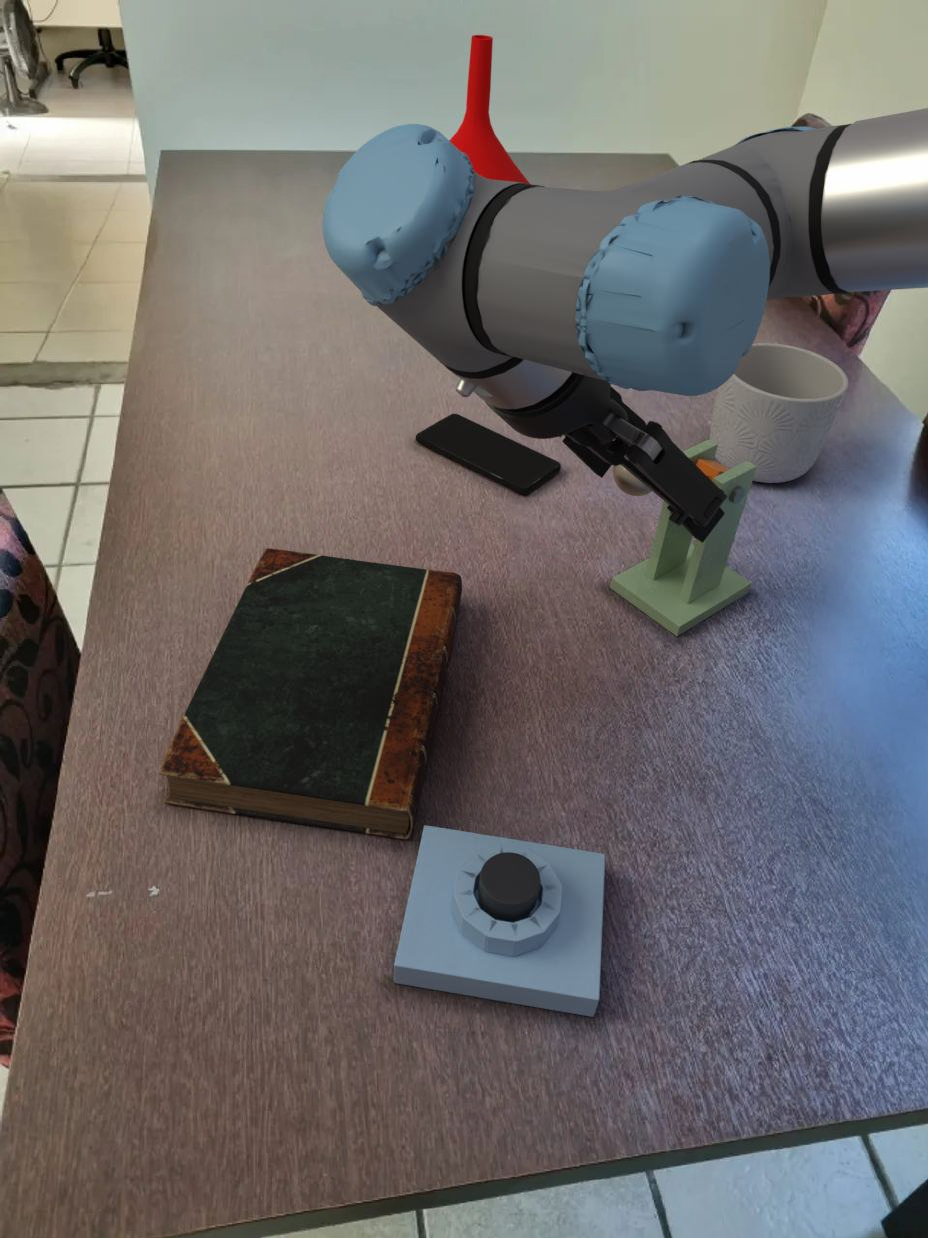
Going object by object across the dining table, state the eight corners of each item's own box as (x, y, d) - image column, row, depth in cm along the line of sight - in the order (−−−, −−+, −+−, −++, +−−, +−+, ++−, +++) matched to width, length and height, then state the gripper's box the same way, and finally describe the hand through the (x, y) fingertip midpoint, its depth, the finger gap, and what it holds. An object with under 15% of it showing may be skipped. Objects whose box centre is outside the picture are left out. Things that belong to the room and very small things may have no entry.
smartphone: (524, 491, 94) (412, 435, 100) (523, 498, 94) (412, 441, 101) (564, 463, 98) (454, 411, 104) (563, 470, 98) (453, 417, 105)
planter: (826, 499, 98) (862, 405, 90) (707, 489, 98) (734, 394, 90) (802, 437, 107) (833, 347, 99) (693, 427, 107) (716, 337, 100)
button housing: (600, 872, 63) (610, 837, 60) (593, 1018, 55) (604, 985, 52) (423, 843, 63) (425, 807, 61) (393, 983, 56) (393, 949, 53)
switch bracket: (676, 636, 80) (715, 504, 71) (609, 587, 85) (637, 456, 76) (748, 592, 85) (793, 463, 76) (681, 548, 90) (716, 421, 81)
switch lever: (631, 503, 67) (654, 458, 66) (596, 480, 69) (617, 436, 68) (725, 509, 78) (746, 470, 76) (692, 489, 80) (712, 450, 78)
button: (539, 873, 58) (543, 856, 57) (534, 925, 55) (537, 909, 54) (482, 863, 58) (484, 847, 57) (474, 915, 56) (476, 899, 55)
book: (267, 577, 83) (162, 804, 64) (264, 545, 81) (154, 771, 62) (462, 604, 82) (412, 842, 63) (464, 572, 80) (413, 809, 61)
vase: (418, 306, 127) (425, 53, 107) (392, 253, 140) (394, 19, 120) (546, 299, 131) (576, 55, 111) (510, 249, 144) (531, 22, 124)
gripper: (378, 335, 61) (531, 466, 79) (632, 499, 48) (742, 609, 67) (445, 236, 60) (584, 392, 78) (721, 378, 48) (808, 523, 66)
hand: (657, 492), depth 73 cm, fingers open, 10 cm apart
